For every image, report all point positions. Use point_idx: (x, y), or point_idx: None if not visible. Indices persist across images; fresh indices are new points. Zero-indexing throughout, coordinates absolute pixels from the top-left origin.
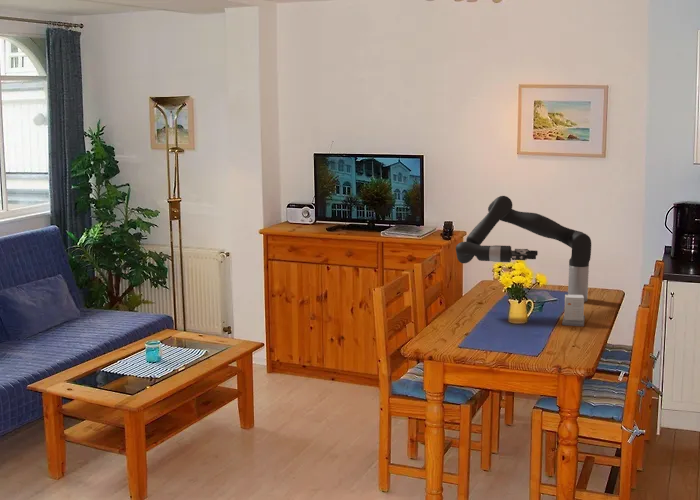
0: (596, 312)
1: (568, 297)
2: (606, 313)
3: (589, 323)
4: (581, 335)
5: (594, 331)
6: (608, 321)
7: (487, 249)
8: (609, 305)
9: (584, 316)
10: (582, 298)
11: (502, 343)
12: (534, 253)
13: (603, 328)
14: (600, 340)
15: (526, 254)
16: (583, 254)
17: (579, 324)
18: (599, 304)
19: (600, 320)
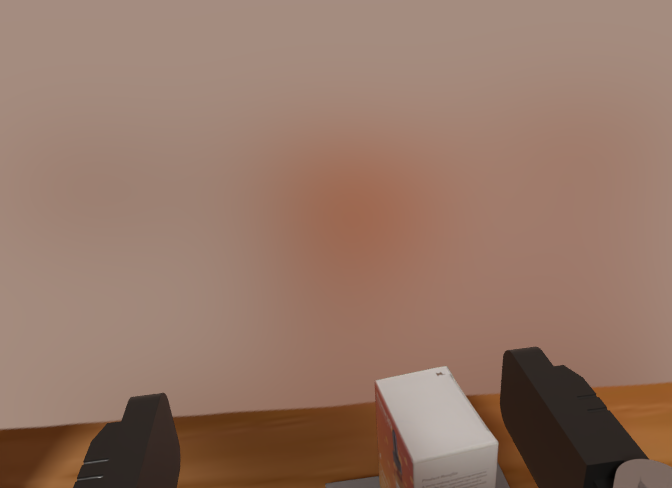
0: (189, 468)
1: (486, 429)
2: (203, 431)
3: None
4: (663, 451)
5: None
6: (346, 405)
7: None
8: (40, 443)
9: (346, 481)
10: (450, 373)
11: None
12: (163, 470)
13: (474, 402)
14: (665, 384)
15: (666, 472)
16: None
17: (504, 481)
18: (11, 483)
19: (342, 431)
